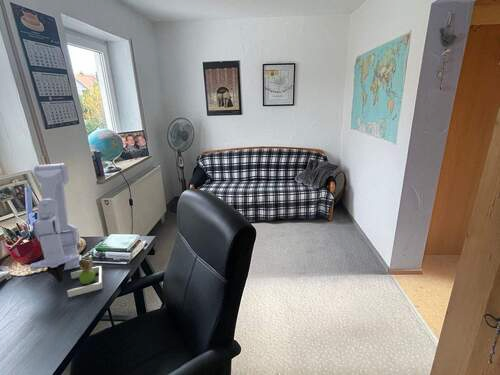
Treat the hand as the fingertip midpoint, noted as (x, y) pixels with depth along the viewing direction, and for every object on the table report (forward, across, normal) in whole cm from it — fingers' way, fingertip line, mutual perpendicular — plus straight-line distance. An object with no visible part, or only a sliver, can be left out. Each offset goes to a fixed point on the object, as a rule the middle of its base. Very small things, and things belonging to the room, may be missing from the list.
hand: (60, 280), depth 100 cm
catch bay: (+3, +8, 0) cm, 8 cm away
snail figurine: (+4, +9, 0) cm, 10 cm away
